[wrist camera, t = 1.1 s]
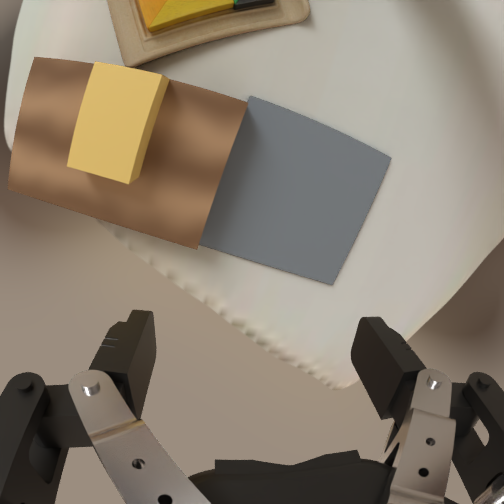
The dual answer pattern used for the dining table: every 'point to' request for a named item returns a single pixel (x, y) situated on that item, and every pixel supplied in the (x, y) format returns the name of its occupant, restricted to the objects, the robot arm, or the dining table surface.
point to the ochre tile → (116, 121)
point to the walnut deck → (154, 164)
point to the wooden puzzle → (193, 23)
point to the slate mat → (292, 193)
